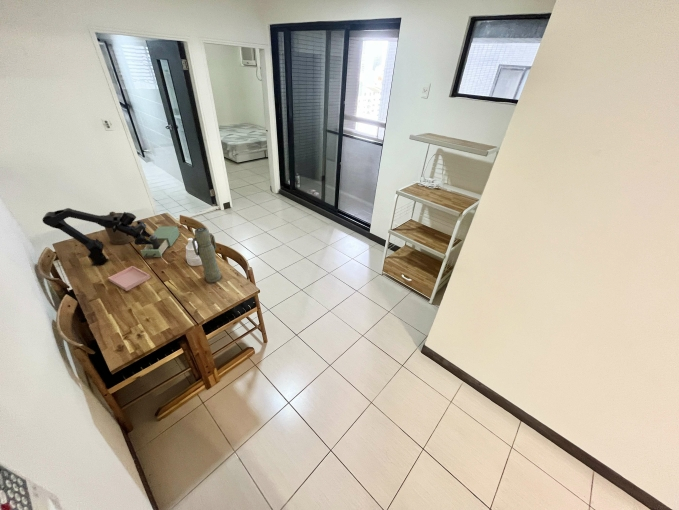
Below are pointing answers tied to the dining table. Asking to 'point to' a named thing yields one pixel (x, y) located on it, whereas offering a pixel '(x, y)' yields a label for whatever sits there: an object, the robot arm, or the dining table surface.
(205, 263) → the thermos
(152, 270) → the dining table surface
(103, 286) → the dining table surface
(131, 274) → the tray
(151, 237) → the pepper mill
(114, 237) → the wooden container
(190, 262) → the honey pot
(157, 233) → the cabinet
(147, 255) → the drawer
